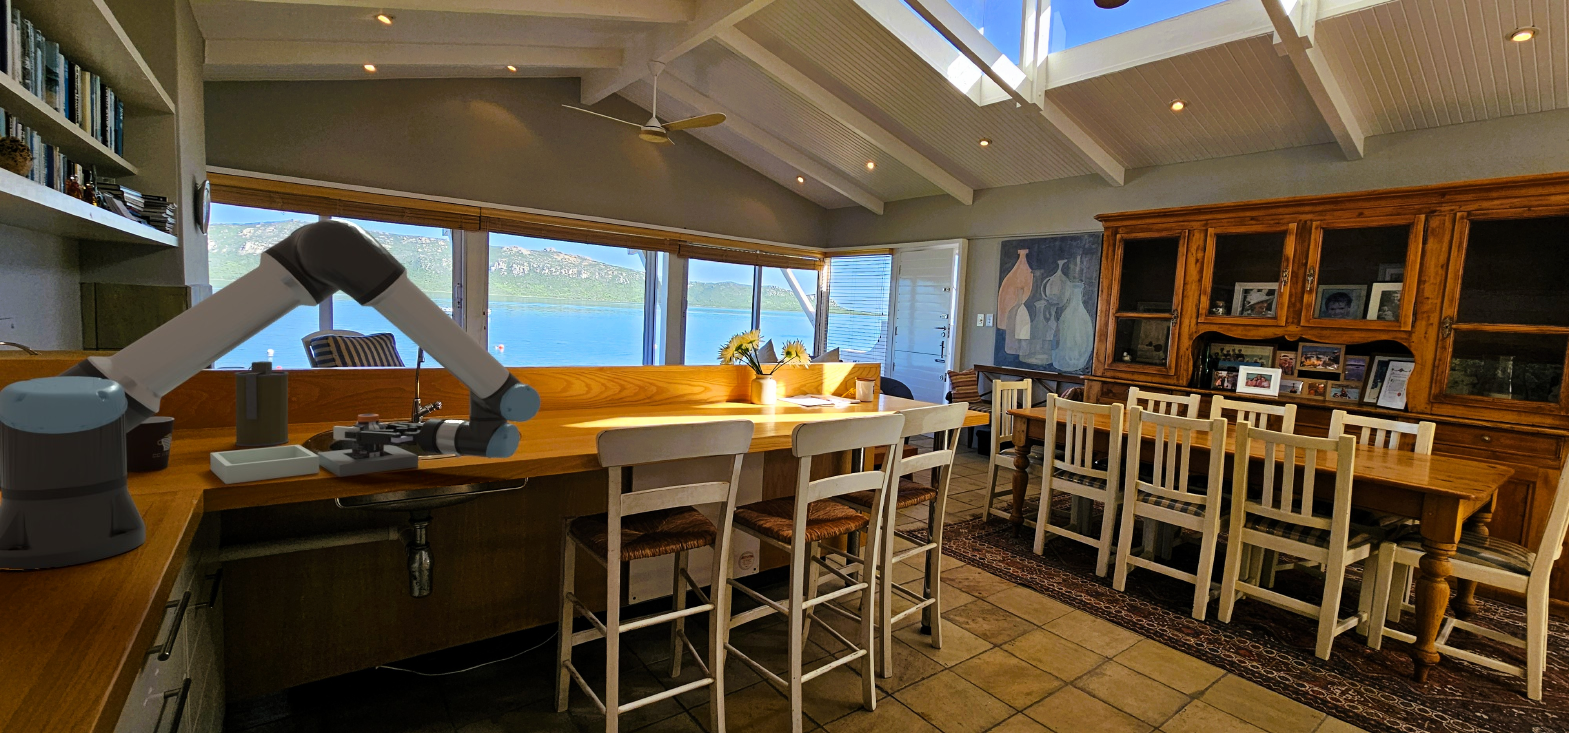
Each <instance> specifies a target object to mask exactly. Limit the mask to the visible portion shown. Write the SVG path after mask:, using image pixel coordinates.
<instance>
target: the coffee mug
mask: <svg viewBox="0 0 1569 733" xmlns="http://www.w3.org/2000/svg"><path fill="white" fill-rule="evenodd" d="M174 423H175V418H174V417H170V416H151V417H149V418H148V419H147V420H145V421H144V422H142V423H141V424H139V425H138V426H136V427H135V428H133V429H132V430H130V431H129V432H127V433H126V449H127V473H137V474H138V473H148V472H156V471H163V470H165V469H167V468H168V467H169V458H170V453H171V452H170V451H171V445H172V439H173V438H172V437H173V432H174Z"/></svg>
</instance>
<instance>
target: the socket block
mask: <svg viewBox="0 0 1569 733" xmlns="http://www.w3.org/2000/svg"><path fill="white" fill-rule="evenodd" d="M317 455H318V456H319V467H320V466H321V467H322V468H324V469H326V470H327V471H329V472H331V473H333V474H334V475H336V476H338V477H339V478H342V477H349V476H357V475H365V474H371V473H372V474H373V473H380V472H387V471H395V470H403V469H411V468H412V469H413V468H418V467H419V455H418V454H416V453H414V452H410V451H408V450H406V449H403V448H402V447H400V446H398V447H397V446H392V445H384V456H380V457H371V458H362V459H353V458H352V448H350V449H341V450H330V451H320V452H317Z"/></svg>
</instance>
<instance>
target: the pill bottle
mask: <svg viewBox="0 0 1569 733" xmlns="http://www.w3.org/2000/svg"><path fill="white" fill-rule="evenodd" d="M356 422H358V424H356V423H355V424H354V425H353V426H352V427H357V428H359V426H364V429H372V430H384V426H383V425H382V424H380V423H381V422H380V415H379V414H376V413H363V414H358V415H357V421H356ZM384 446H385V445H379V444H358V443H356V441H355V440H351V449H352V458H353V459H362V458H371V457H380V456H384Z"/></svg>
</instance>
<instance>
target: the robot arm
mask: <svg viewBox="0 0 1569 733" xmlns="http://www.w3.org/2000/svg"><path fill="white" fill-rule="evenodd" d="M339 291H341V292H343V293H344V294H345V295H347V296H349V297H350V298H352V299H353V300H354V301H356V302H357V303H358V304H359V305H360V306H361V307H370V308H371V307H372V309H374V310H375V311H377V312H378V313H379V314H380V315H381V316H383V317H384V318H385V319H386V320H387V321H388V322H390V323H391V324H392V325H393V326H394V327H395V328H397V329H398V330H399V331H400V332H401V333H402V334H404V335H405V336H406V337H407V338H409V339H410V340H411V341H412V342H414V344H415V345H417V346H418V347H419V348H420V349H422V351H423V352H425V353H426V354H427V355H428V356H429V357H431V358H432V359H433V360H434V361H435V362H437V363H438V364H440V365H441V366H442V367H443V368H444V369H445V370H447V372H449V374H451V375H452V376H453V377H454V378H456V379H457V380H458V381H459V382H460V383H462V384H463V386H465V387H466V388H467V389H468V390H469V395H468V396H469V397H468V398H469V399H468V401H469V411H468V412H469V413H468V414H469V415H468V416H469V418H468V420H460V419H439V418H429V419H427V420H426V421H425V422H424V423H422V424H421V423H412V422H411V423H410V422H400V421H397V422H395V423H392V422H389V423H387V424H386V423H384V422H379V423H380V424H382V425H383V426H384V430H372V429H364V426H359V428H357V427H353V426H341V425H335V426H333V429H332V430H333V431H332V433H333V435H332V436H333V440H343V441H352V440H355V441H356V443H358V444H379V445H384V446H387V445H392V446H397V447H401V446H402V445H407V446H417V445H419V447H420V449H421V450H422V451H423V452H424V453H426V454H434V455H454V457H455V458H460V457H461V456H467V457H478V458H487V459H506V458H507V459H509V458H511V457H512V456H513V455H514V454H515V453H516V452H517V449H518V448H519V444H520V439H521V438H520V437H521V436H520V433H519V428H518V426H516V425H515V424H513V423H510V422H516V423H524V422H528V421H530V420H531V419H533V418H534V417H535V416H536V415H537V414H538V412H539V410H540V408H541V396H540V394H539V392H538V391H537V390H536V389H535V388H534V387H532V386H530V385H529V384H527V383H523V382H521V380H520V379H518V378H517V377H516V376H515V375H514V374H513V373H511V372H510V371H509V370H508V369H507V367H506V366H504V365H503V364H502V363H501V362H500V361H499V360H498V359H497V358H496V357H495V356H494V355H492V354H491V353H490V352H489V351H488V350H487V349H486V348H484V346H482V345H481V343H479V342H478V341H477V340H476V339H475V338H473V337H472V336H471V334H469V333H468V332H467V331H466V330H465V329H464V328H463V327H461V325H459V324H458V322H457V321H455V320H454V319H453V318H452V317H450V316H449V315H448V314H447V313H446V312H445V311H444V310H443V309H442V308H441V307H440V306H439V305H438V304H437V303H435V302H434V300H432V299H431V298H430V297H429V296H428V295H427V294H426V293H425V292H424V291H422V290H421V289H420V288H419V287H418V286H417V285H416V284H415V283H414V282H413V281H412V280H411V279H409V278H408V270H407V268H406V266H404V265H403V264H402V263H401V262H400V261H399V260H398V259H397V258H396V257H395V256H394V255H393V254H392V253H391V252H390V251H388V249H386V247H384V246H383V244H381V242H379V240H377V239H376V238H375V237H374V235H372V234H371V232H369V231H367V230H366V229H365V228H363V227H362V226H361V225H358V224H356V223H355V222H352V221H349V220H345V219H339V218H327V219H322V220H319V221H315V222H312V223H308V224H305V225H302V226H300V227H298V228H297V229H295V230H293V231H292V232H290V235H288V236H287V237H285V238H284V239H282V240H281V241H279V242H277V243H275V244H274V245H272V246H270V247H269V248H267V249H266V250H264V251H263V252H261V253H260V259H259V265H258V266H257V267H255V268H254V269H252V270H250V271H248V272H247V273H245V274H244V275H241V277H238V278H237V279H235V280H234V281H233V282H230V283H229V284H227V285H225V286H224V287H223V288H221V289H219V290H218V291H216V292H214V293H213V294H211V295H209V296H208V297H206V298H205V299H203V300H201V301H199V302H198V303H195V305H192V307H190V308H188V309H186V310H185V311H183V312H181V313H180V314H179V315H177V316H175V317H173V318H172V319H170V320H168V321H167V322H165V323H164V324H163V323H162V325H160V326H159V327H157V328H155V329H154V330H152V331H150V332H148V333H147V334H145V335H144V336H142V337H140V338H139V339H136V341H134V342H132V343H130V344H129V345H127V346H126V347H124V348H123V349H121V350H119V351H118V352H116V353H115V354H113V355H109V356H88V357H86V358H84V359H83V360H81V361H80V362H78V363H76V364H75V365H73V366H70V367H69V368H68V369H66V370H64V371H62V372H61V373H59V374H58V375H56V376H50V377H49V376H48V377H39V378H32V379H28V380H21V381H16V382H13V383H10V384H8V385H6V386H5V387H4V388H2V390H0V494H1V495H0V496H1V497H0V568H9V569H35V568H47V569H50V568H49V567H55V568H61V567H68V565H69V566H74V565H79V564H85V563H89V562H95V561H98V560H103V559H107V558H110V557H114V556H117V555H120V554H124V553H126V552H129V551H131V550H134V549H135V548H137V547H139V546H141V545H143V544H144V543H145V542H146V524H145V522H144V520H143V518H142V516H141V514H140V512H139V509H138V508H137V506H136V504H135V502H134V500H133V498H132V495H131V494H130V492H129V490H128V489H129V488H128V472H127V449H126V433H127V432H129V431H130V430H132V429H133V428H135V427H136V426H138V425H139V424H141V423H142V422H144V421H145V420H147V419H148V418H149V417H153V416H154V415H156V414H157V413H158V412H159V411H160V406H161V400H162V397H163V396H165V395H167V394H169V392H171V391H173V390H174V389H176V388H177V387H178V386H180V385H182V384H183V383H185V382H186V381H188V380H189V379H190V378H192V377H195V375H197V374H198V373H200V372H201V371H203V370H205V368H207V367H209V366H210V365H212V364H214V363H216V361H218V360H219V359H221V358H223V357H225V355H228V353H230V352H232V351H234V349H236V348H237V347H239V346H240V345H242V344H243V343H245V342H247V341H248V340H250V339H251V338H253V337H254V336H255V335H257V334H259V333H260V332H261V331H263V330H265V329H266V328H268V327H269V326H271V325H273V323H275V322H277V321H279V320H280V319H281V318H283V317H284V316H286V315H287V314H289V313H290V312H293V311H294V310H295V309H296V308H298V307H300V306H305V307H306V306H308V307H316V306H318V305H319V304H321V303H322V302H324V301H325V300H327V299H328V298H330V297H331V296H333V295H334V294H336V293H337V292H339ZM508 421H509V422H508ZM356 424H358V421H356V423H355V425H356Z"/></svg>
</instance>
